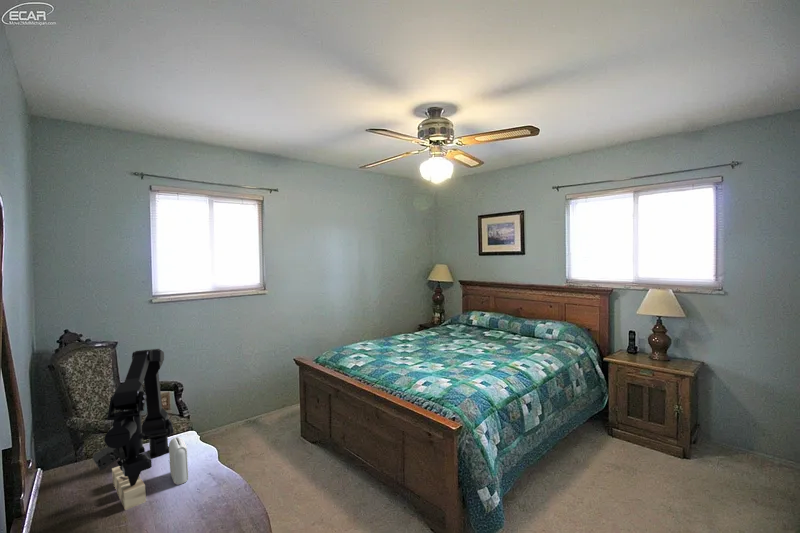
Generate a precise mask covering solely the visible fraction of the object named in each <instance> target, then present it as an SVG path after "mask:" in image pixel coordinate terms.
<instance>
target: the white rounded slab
mask: <svg viewBox="0 0 800 533" xmlns="http://www.w3.org/2000/svg"><path fill="white" fill-rule="evenodd" d="M168 446H169V452H168V455H169V457H168V459H169V471H170V476H171V480H172V482H173V483H174V484H175V485H183V484H185V483H186V482H187V481H189V467H188V466H189V464H188V463H189V462H188V447H187V445H186V443H185V440H184V439H183V438H182V437H180V436H176V437H173V438H171V440H170V441H169V442H168Z"/></svg>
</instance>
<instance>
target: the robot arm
mask: <svg viewBox="0 0 800 533" xmlns="http://www.w3.org/2000/svg"><path fill="white" fill-rule="evenodd" d="M164 361H165V352H164V351H163V350H161V349H160V348H151V349H141V350H135V351H133V352H132V354H131V362H130V365H129V368H128V371H127V373H126V376H125V379H124V381H123V382H122V383H121V384H120V385H118V386H117V387H116V389H115V390H114V393H113V394H112V395H111V397H110V401H109V407H108V412H107V418H106V420H107V421H113V423H112V425H111V427H110V429H109V430H108V431H107V432H106V434H105V435H104V439H103V441H104V443H105V445H106V447H105V448H104V449H102V450H100V451H99V452H97V453H95V454H94V455H93V456H92V460H93V462H94V463H95V465H96V467H97V468H98V470H99V471H102V470H105V469H107V467H108V466H110V465H112V464H113V463H114V462H116V463H117V465H118V466H121V467H120V469H121V470H122V471H123V474H124V476H127V477H128V480H129V483H130V485H131V486H133V485H135V484H136V482H137V480H138V477H139V476H140V475H141V474H142V473H141V472H143V471H146V470H149V469H151V468H152V466H153V465H152V458H156V457H159V456H162V455H165V454H169V441H168V440H169V438H168V437H171V435H173V434H174V431H175V430H174V424H173V422H172V421H171V419H170V418H169V412H168V411H166V410H165V409H164V408H163V405H162V393H161V383H160V374H159V372H160V369H161V367H162V366H163V363H164ZM143 384H144V387H143ZM145 408H146V415H145V417H144V419H143V422H142V414H143V413H142V412H143V411H145ZM115 411H116V412H115ZM146 440H148V444H149V449H148V450H147V451H146V449H145V447H144V446H143V445H144V444H143V441H146ZM145 451H146V453H147V454H143V453H145Z"/></svg>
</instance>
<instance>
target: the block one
mask: <svg viewBox="0 0 800 533" xmlns="http://www.w3.org/2000/svg"><path fill="white" fill-rule="evenodd" d="M120 467H121V466H119V465H118V466H115V467H112V468H111V475H112V476H111V477H112V479H111V480H112V485H113V484H114V485H113V487H115V488H114V489H117V484H116V477H118V476H121V475H123V471H122V470H121V469H120Z"/></svg>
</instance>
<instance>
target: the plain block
mask: <svg viewBox="0 0 800 533" xmlns="http://www.w3.org/2000/svg"><path fill="white" fill-rule="evenodd" d="M146 492H147V491H146V484H145V482H144V480H143V479H142V478H140V479H139V480H137V482H136V484H135V485H133V486H131V485H130V483H128V484H126V485H123V486H121V500H120V501H121V505H122V507H123V510H124V511H127V510H129V509H132V508H134V507H137V506H140V505H141V504H144V503H146V502H147V495H146Z"/></svg>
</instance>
